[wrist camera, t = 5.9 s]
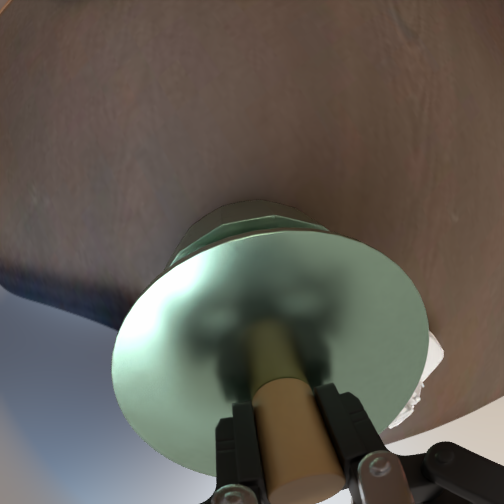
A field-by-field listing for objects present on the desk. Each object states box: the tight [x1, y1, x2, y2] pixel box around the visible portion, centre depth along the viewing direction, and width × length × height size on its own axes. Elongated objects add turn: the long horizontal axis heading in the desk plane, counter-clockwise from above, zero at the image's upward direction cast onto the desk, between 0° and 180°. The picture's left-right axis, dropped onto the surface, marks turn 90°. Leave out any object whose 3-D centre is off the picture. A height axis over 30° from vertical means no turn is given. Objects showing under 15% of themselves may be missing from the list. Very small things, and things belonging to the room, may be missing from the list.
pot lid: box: [111, 227, 429, 504], centre depth 9 cm, size 13×13×6 cm
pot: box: [164, 200, 329, 271], centre depth 19 cm, size 12×12×6 cm
